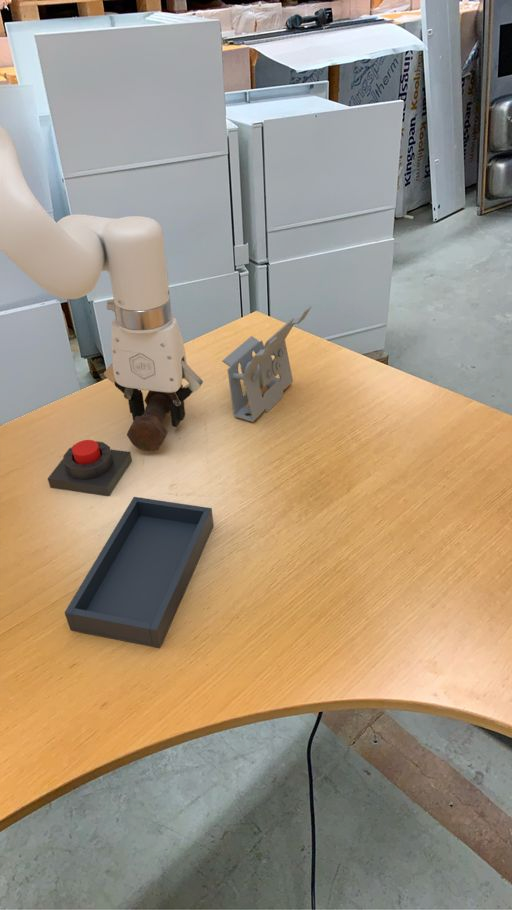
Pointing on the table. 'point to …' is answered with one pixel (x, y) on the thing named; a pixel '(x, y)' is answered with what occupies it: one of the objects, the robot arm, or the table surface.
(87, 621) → the tray
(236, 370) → the bracket
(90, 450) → the power button
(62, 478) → the station
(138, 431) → the bolt
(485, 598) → the table surface
